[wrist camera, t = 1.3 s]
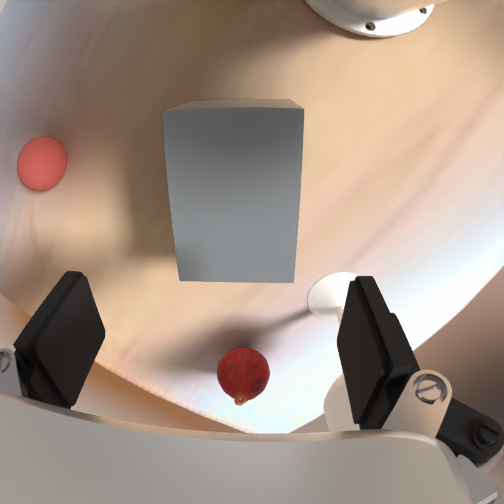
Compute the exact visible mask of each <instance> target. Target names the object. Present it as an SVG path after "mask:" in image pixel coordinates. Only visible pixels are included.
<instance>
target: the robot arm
mask: <svg viewBox="0 0 504 504" xmlns="http://www.w3.org/2000/svg"><path fill="white" fill-rule="evenodd" d="M444 1H448V0H305V2H306V3H307V4H308V5H309V6H310V7H311V8H312V9H313V10H314V11H315V12H316V13H318V14H319V15H321V16H322V17H323V18H325V19H326V20H327V21H329V22H331V23H333V24H334V25H336V26H338V27H340V28H342V29H344V30H347V31H350V32H353V33H355V34H359V35H364V36H368V37H382V38H385V37H393V36H398V35H402V34H406V33H408V32H410V31H413V30H415V29H417V28H418V27H419V26H420V25H422V24H423V23H424V22H425V21H426V20H427V19H428V17H429V16H430V15H431V12H432V10H433V8H434V5H435V4H437V3H441V2H444ZM419 10H420V12H419ZM365 25H368V26H369V27H370V29H369V30H367V29H366V27H365ZM104 338H105V328H104V326H103V323H102V320H101V318H100V315H99V312H98V309H97V307H96V304H95V301H94V298H93V295H92V292H91V289H90V286H89V283H88V280H87V277H86V276H84V275H83V273H82V272H77V271H67V272H66V273H65V274H64V275H63V276H62V278H61V279H60V280H59V282H58V283H57V284H56V285H55V287H54V288H53V289H52V291H51V292H50V293H49V295H48V296H47V297H46V299H45V300H44V301H43V303H42V304H41V305H40V307H39V308H38V309H37V311H36V312H35V314H34V315H33V316H32V318H31V319H30V321H29V322H28V324H27V325H26V326H25V328H24V329H23V331H22V332H21V334H20V335H19V337H18V338H17V340H16V341H15V343H14V344H13V345H14V347H15V349H16V351H15V352H14V353H13V352H12V351H11V350H10V349H7V348H3V349H0V504H504V433H503V430H502V428H501V427H500V425H499V424H498V423H497V422H496V421H494V420H493V419H491V418H489V417H487V416H485V415H484V414H482V413H480V412H478V411H476V410H474V409H472V408H470V407H468V406H467V405H465V404H463V403H461V402H459V401H457V400H455V399H453V398H452V397H451V395H452V389H451V385H450V383H449V382H448V380H447V379H446V378H445V377H444V376H443V375H441V374H440V373H438V372H436V371H432V370H421V371H420V368H419V366H418V363H417V361H416V359H415V356H414V354H413V351H412V349H411V347H410V345H409V342H408V340H407V338H406V336H405V333H404V331H403V329H402V327H401V324H400V322H399V320H398V318H397V316H396V315H395V314H394V313H390V311H389V309H388V307H387V305H386V303H385V301H384V298H383V296H382V294H381V292H380V290H379V288H378V286H377V284H376V282H375V280H374V278H373V276H356V277H355V280H351V281H350V282H349V286H348V291H347V296H346V301H345V306H344V310H343V315H342V319H341V323H340V328H339V332H338V336H337V348H338V352H339V356H340V361H341V365H342V369H343V374H344V379H345V383H346V388H347V393H348V397H349V402H350V407H351V412H352V417H353V422H354V424H359V428H360V430H353V431H337V432H321V433H290V434H248V433H223V432H208V431H207V432H206V431H195V430H184V429H175V428H166V427H159V426H151V425H145V424H138V423H132V422H126V421H120V420H115V419H110V418H105V417H100V416H96V415H91V414H87V413H82V412H78V411H74V410H70V408H71V406H74V405H75V403H76V401H77V398H78V396H79V394H80V391H81V389H82V387H83V385H84V382H85V380H86V378H87V375H88V373H89V371H90V369H91V366H92V364H93V362H94V360H95V358H96V356H97V353H98V351H99V349H100V347H101V345H102V343H103V341H104Z"/></svg>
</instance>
